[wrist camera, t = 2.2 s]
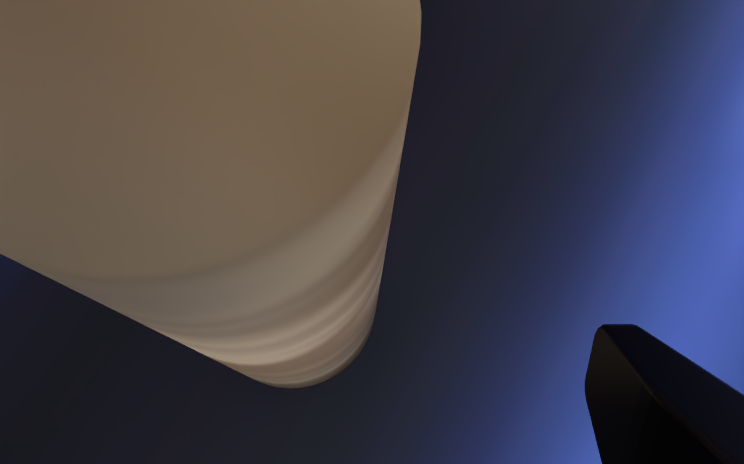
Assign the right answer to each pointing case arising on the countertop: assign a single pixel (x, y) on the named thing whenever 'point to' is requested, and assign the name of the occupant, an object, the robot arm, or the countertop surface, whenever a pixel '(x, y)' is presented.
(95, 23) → the dowel
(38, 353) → the countertop surface
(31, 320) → the countertop surface
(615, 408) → the robot arm
